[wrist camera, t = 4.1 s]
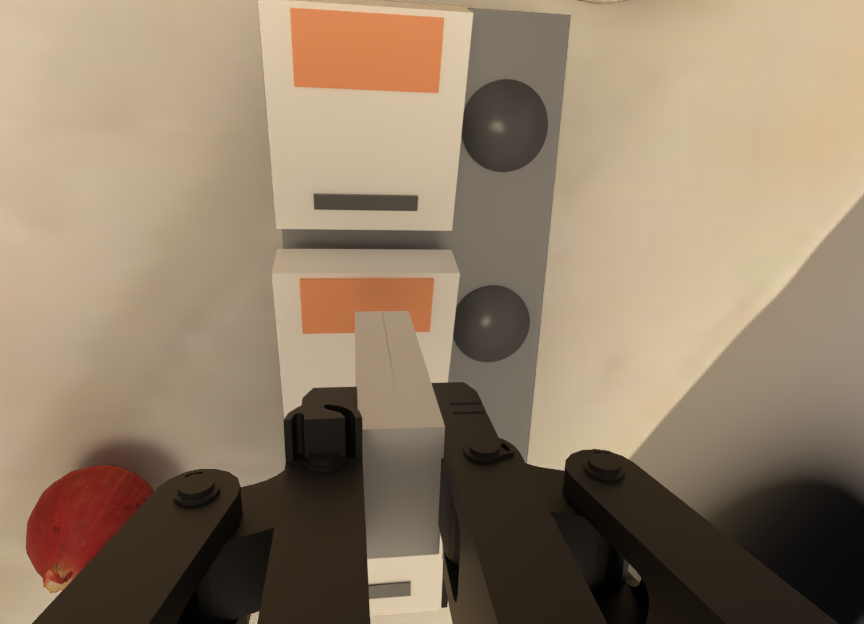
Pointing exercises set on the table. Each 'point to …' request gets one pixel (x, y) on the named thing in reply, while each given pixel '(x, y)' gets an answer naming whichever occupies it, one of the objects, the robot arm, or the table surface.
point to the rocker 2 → (357, 310)
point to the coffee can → (603, 1)
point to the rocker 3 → (405, 584)
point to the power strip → (495, 211)
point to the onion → (80, 519)
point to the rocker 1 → (364, 111)
